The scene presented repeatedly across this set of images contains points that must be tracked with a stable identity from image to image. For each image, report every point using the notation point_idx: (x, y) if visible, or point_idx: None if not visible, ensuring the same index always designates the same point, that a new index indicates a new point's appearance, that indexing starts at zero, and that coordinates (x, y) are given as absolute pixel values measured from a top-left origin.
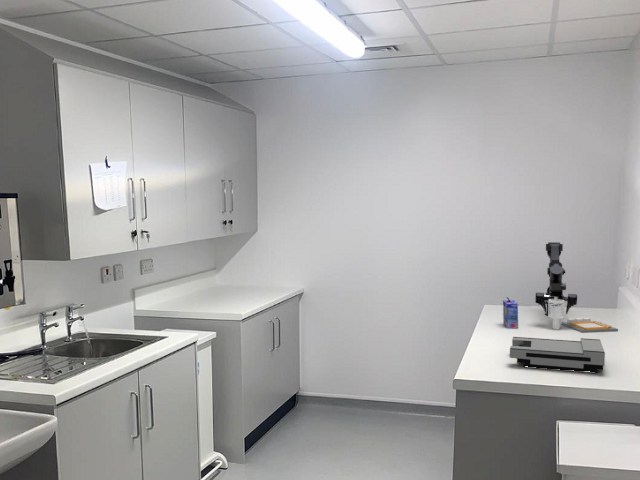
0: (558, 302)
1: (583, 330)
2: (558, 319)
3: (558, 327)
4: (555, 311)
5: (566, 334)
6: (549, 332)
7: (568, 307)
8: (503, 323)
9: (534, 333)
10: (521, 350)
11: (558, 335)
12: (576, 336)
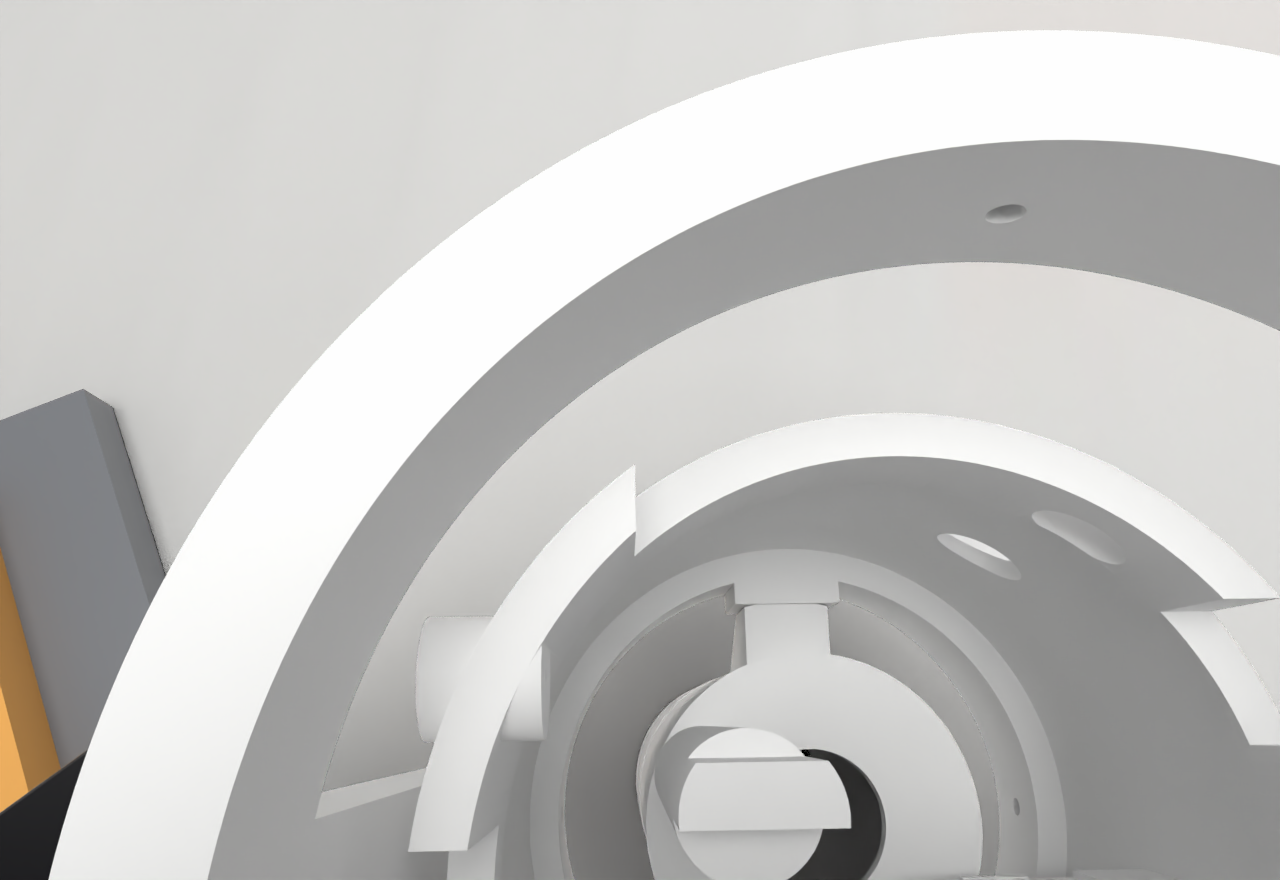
0: (871, 115)
1: (38, 407)
2: (686, 697)
3: (668, 706)
4: (893, 501)
5: (535, 145)
6: (916, 268)
7: (23, 809)
8: None
9: None
10: None
11: (726, 16)
12: (343, 3)
